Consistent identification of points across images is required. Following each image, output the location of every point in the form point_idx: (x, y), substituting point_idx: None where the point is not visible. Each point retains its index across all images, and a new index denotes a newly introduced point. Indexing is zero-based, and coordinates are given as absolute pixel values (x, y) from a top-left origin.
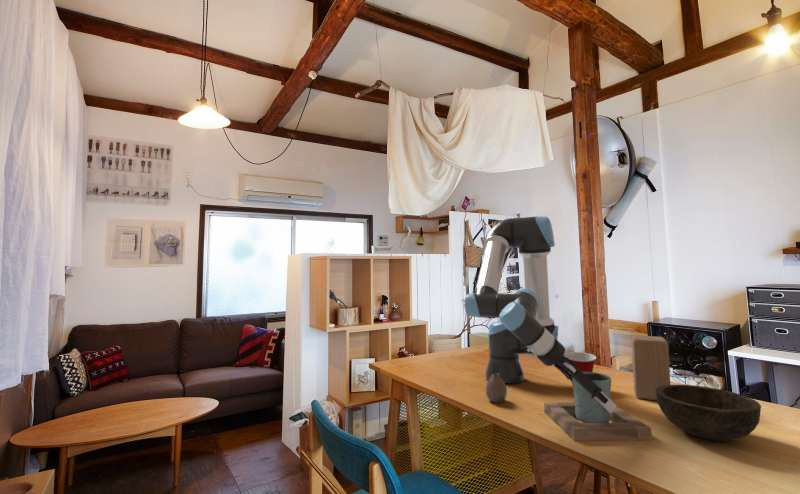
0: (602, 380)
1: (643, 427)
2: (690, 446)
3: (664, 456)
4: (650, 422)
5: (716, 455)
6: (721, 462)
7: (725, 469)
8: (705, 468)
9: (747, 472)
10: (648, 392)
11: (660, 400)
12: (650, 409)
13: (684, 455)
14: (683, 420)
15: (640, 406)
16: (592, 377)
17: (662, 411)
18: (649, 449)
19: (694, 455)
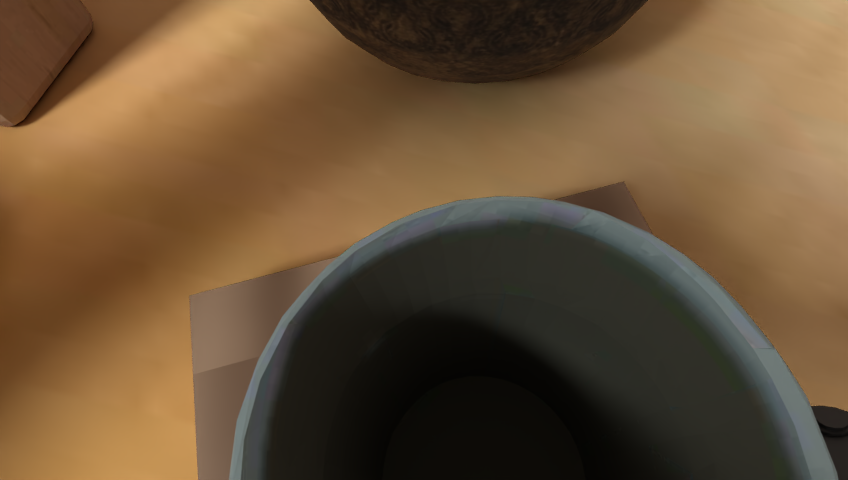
0: (384, 292)
1: (638, 215)
2: (619, 99)
3: (795, 217)
4: (367, 161)
5: (673, 51)
6: (736, 56)
7: (799, 64)
8: (833, 115)
9: (784, 20)
10: (24, 58)
11: (510, 22)
12: (183, 116)
13: (735, 143)
14: (617, 26)
15: (138, 144)
16: (304, 391)
17: (478, 71)
18: (742, 256)
19: (714, 112)
